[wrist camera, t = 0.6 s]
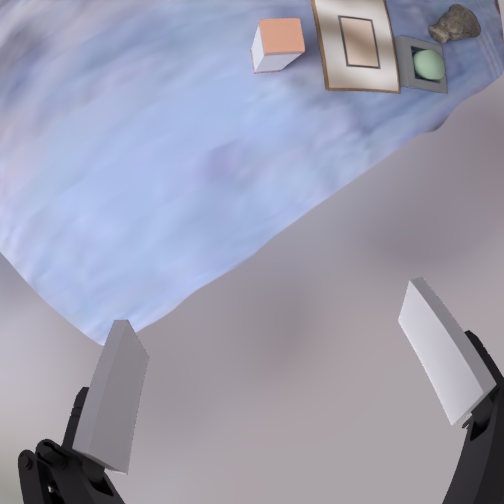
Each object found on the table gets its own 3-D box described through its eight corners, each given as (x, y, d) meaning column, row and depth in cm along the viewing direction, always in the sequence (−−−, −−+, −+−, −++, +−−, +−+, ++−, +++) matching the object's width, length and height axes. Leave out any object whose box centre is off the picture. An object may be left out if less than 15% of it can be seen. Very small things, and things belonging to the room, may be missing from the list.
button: (408, 49, 22) (419, 46, 20) (431, 54, 22) (442, 53, 20) (412, 76, 24) (424, 76, 22) (434, 81, 24) (446, 81, 22)
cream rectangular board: (308, -11, 19) (309, -13, 19) (381, -1, 19) (384, -2, 18) (325, 90, 26) (327, 90, 26) (397, 93, 26) (400, 93, 25)
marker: (250, 51, 24) (259, 19, 13) (275, 49, 24) (299, 18, 13) (254, 73, 25) (265, 52, 15) (279, 71, 25) (305, 51, 15)
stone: (427, 47, 23) (478, 66, 19) (426, 21, 18) (484, 43, 14) (432, 12, 21) (478, 29, 17) (430, -11, 16) (480, 6, 12)
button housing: (393, 37, 22) (401, 35, 20) (433, 47, 22) (441, 46, 20) (400, 86, 26) (408, 86, 24) (438, 92, 25) (447, 93, 24)
